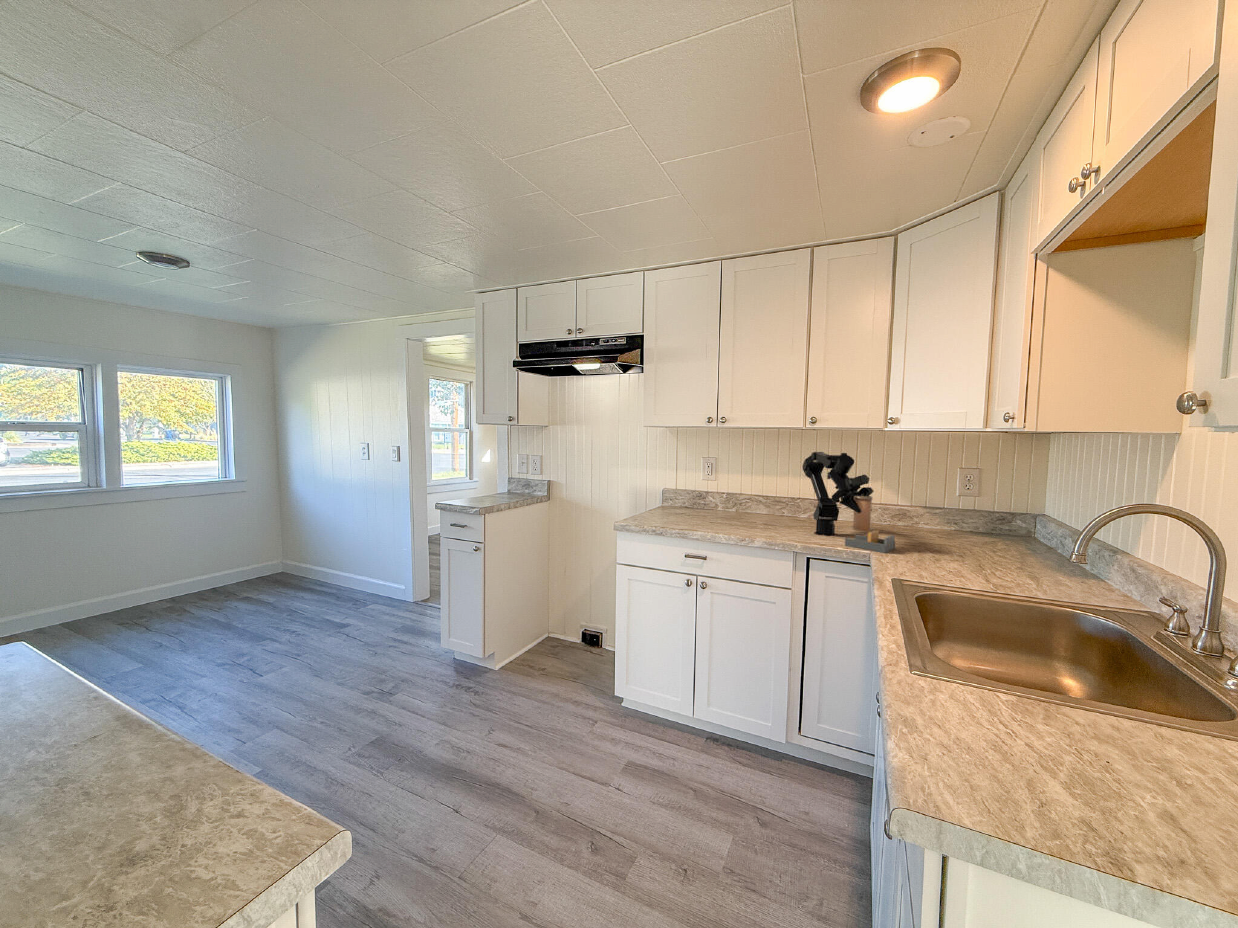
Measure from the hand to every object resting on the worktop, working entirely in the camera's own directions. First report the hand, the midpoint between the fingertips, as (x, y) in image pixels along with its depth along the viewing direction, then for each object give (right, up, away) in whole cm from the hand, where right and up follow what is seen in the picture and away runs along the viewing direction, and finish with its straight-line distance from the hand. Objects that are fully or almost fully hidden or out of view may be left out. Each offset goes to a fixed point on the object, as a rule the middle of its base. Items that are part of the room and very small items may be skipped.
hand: (865, 511), depth 188 cm
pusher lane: (+1, -14, -1) cm, 14 cm away
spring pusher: (+2, -13, -1) cm, 13 cm away
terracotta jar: (-1, -7, +2) cm, 7 cm away
